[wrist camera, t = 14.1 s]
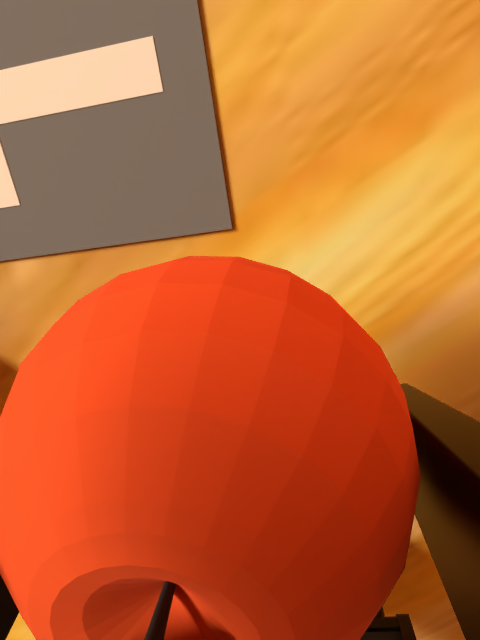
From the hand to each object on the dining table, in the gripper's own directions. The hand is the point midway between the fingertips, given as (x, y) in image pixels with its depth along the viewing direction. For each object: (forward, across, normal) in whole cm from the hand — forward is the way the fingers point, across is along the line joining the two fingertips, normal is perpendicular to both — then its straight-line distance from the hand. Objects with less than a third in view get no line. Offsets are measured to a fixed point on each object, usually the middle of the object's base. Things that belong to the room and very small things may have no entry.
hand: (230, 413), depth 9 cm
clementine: (+2, 0, 0) cm, 2 cm away
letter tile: (+11, +8, -10) cm, 17 cm away
